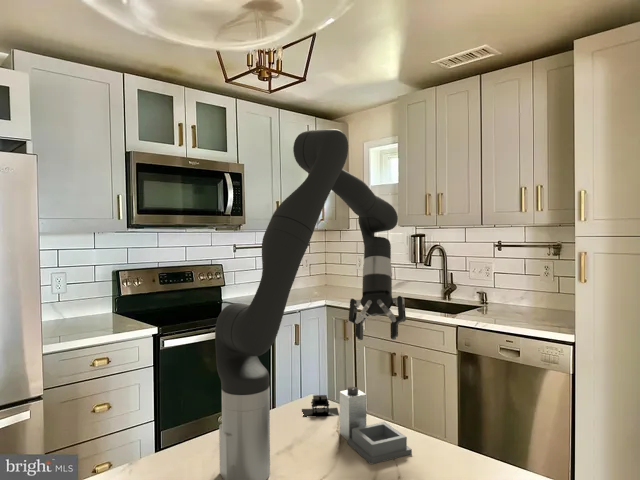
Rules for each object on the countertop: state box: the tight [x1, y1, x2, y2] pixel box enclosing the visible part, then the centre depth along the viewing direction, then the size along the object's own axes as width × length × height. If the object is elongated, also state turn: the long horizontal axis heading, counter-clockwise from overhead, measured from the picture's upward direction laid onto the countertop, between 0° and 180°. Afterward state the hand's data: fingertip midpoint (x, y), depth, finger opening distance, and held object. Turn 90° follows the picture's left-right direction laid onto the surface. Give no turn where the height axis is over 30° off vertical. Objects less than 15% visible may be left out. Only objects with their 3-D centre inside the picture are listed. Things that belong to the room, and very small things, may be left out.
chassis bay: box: [347, 421, 413, 465], centre depth 100 cm, size 10×10×4 cm
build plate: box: [301, 394, 340, 418], centre depth 121 cm, size 12×7×5 cm, turn 94°
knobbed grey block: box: [339, 386, 367, 441], centre depth 107 cm, size 4×4×11 cm
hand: (376, 339), depth 114 cm, fingers open, 8 cm apart
